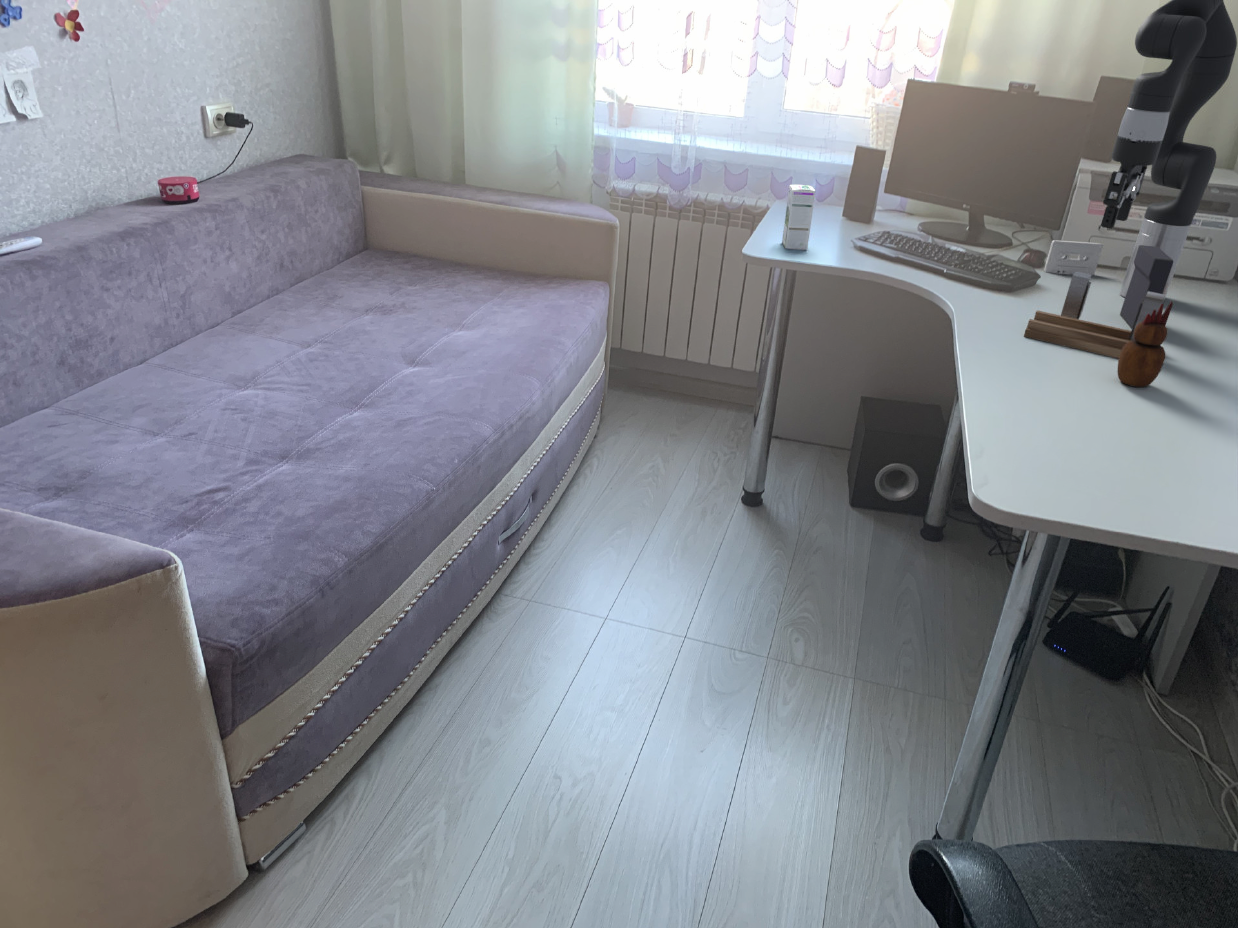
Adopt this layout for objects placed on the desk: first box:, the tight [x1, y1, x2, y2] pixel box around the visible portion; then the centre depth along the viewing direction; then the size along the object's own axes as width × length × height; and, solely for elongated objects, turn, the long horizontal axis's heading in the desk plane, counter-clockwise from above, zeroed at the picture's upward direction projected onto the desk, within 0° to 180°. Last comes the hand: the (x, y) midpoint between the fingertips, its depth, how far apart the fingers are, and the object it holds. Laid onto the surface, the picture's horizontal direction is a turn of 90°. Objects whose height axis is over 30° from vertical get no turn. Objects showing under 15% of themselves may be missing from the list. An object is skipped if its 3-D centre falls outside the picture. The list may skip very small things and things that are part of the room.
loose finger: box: [1060, 271, 1093, 320], centre depth 190 cm, size 4×3×10 cm
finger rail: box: [1023, 291, 1166, 359], centre depth 179 cm, size 10×23×12 cm, turn 57°
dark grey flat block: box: [1119, 245, 1174, 329], centre depth 190 cm, size 11×4×15 cm, turn 168°
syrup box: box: [781, 184, 816, 251], centre depth 229 cm, size 6×6×14 cm
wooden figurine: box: [1116, 301, 1174, 388], centre depth 161 cm, size 7×6×15 cm
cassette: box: [1043, 239, 1104, 276], centre depth 224 cm, size 12×2×8 cm, turn 89°
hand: (1113, 223), depth 179 cm, fingers open, 8 cm apart
